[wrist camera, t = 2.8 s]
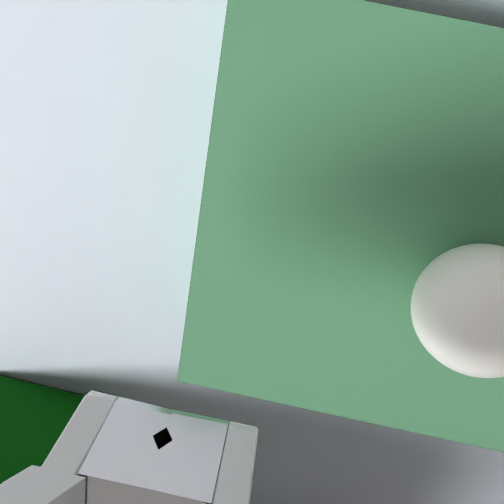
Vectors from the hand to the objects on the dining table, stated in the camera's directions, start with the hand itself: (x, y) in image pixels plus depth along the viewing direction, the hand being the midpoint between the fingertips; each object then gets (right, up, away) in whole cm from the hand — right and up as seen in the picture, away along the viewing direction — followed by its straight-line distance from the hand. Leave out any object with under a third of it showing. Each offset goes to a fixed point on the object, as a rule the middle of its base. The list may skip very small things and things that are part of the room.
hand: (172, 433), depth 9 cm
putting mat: (+11, +3, +8) cm, 14 cm away
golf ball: (+7, +2, +4) cm, 9 cm away
